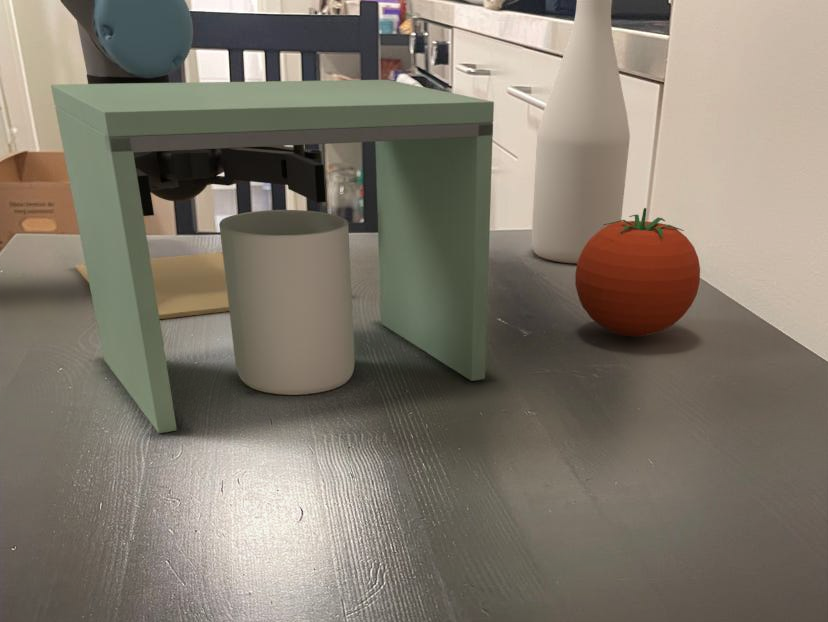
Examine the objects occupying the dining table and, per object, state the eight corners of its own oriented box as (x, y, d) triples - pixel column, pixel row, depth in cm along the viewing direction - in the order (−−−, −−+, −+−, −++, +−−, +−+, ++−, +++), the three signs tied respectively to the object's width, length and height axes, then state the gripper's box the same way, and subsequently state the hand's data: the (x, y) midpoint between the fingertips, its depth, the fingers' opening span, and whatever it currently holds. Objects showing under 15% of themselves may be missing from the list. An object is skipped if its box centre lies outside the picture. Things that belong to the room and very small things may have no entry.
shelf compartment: (158, 434, 62) (104, 111, 52) (104, 360, 73) (50, 84, 63) (485, 379, 72) (494, 101, 62) (393, 322, 83) (387, 79, 73)
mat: (124, 323, 81) (123, 318, 81) (76, 269, 95) (75, 265, 95) (345, 297, 89) (344, 293, 89) (271, 251, 104) (270, 247, 103)
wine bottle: (543, 266, 101) (565, -92, 84) (521, 246, 109) (538, -86, 92) (629, 264, 103) (668, -86, 86) (602, 244, 111) (633, -81, 94)
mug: (334, 341, 78) (326, 198, 72) (366, 391, 69) (360, 232, 63) (226, 349, 76) (208, 202, 70) (244, 402, 67) (226, 238, 61)
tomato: (597, 357, 77) (610, 223, 71) (553, 320, 85) (562, 197, 79) (712, 349, 80) (734, 219, 74) (659, 314, 88) (674, 195, 82)
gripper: (295, 186, 96) (387, 228, 81) (28, 204, 85) (75, 257, 70) (288, 100, 92) (384, 127, 76) (6, 108, 81) (52, 142, 66)
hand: (236, 189), depth 73 cm, fingers open, 13 cm apart
